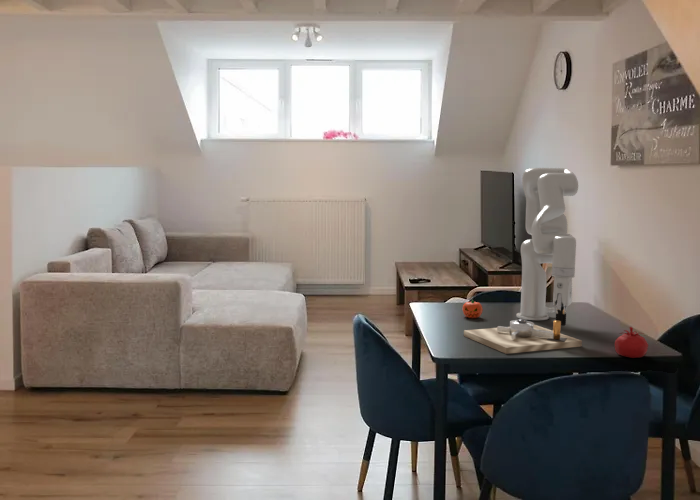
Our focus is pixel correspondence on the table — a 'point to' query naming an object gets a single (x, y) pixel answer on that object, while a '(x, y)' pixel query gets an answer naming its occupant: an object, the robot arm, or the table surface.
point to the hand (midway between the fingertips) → (560, 324)
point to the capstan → (530, 329)
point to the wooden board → (520, 341)
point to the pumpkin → (472, 309)
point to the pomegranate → (631, 345)
